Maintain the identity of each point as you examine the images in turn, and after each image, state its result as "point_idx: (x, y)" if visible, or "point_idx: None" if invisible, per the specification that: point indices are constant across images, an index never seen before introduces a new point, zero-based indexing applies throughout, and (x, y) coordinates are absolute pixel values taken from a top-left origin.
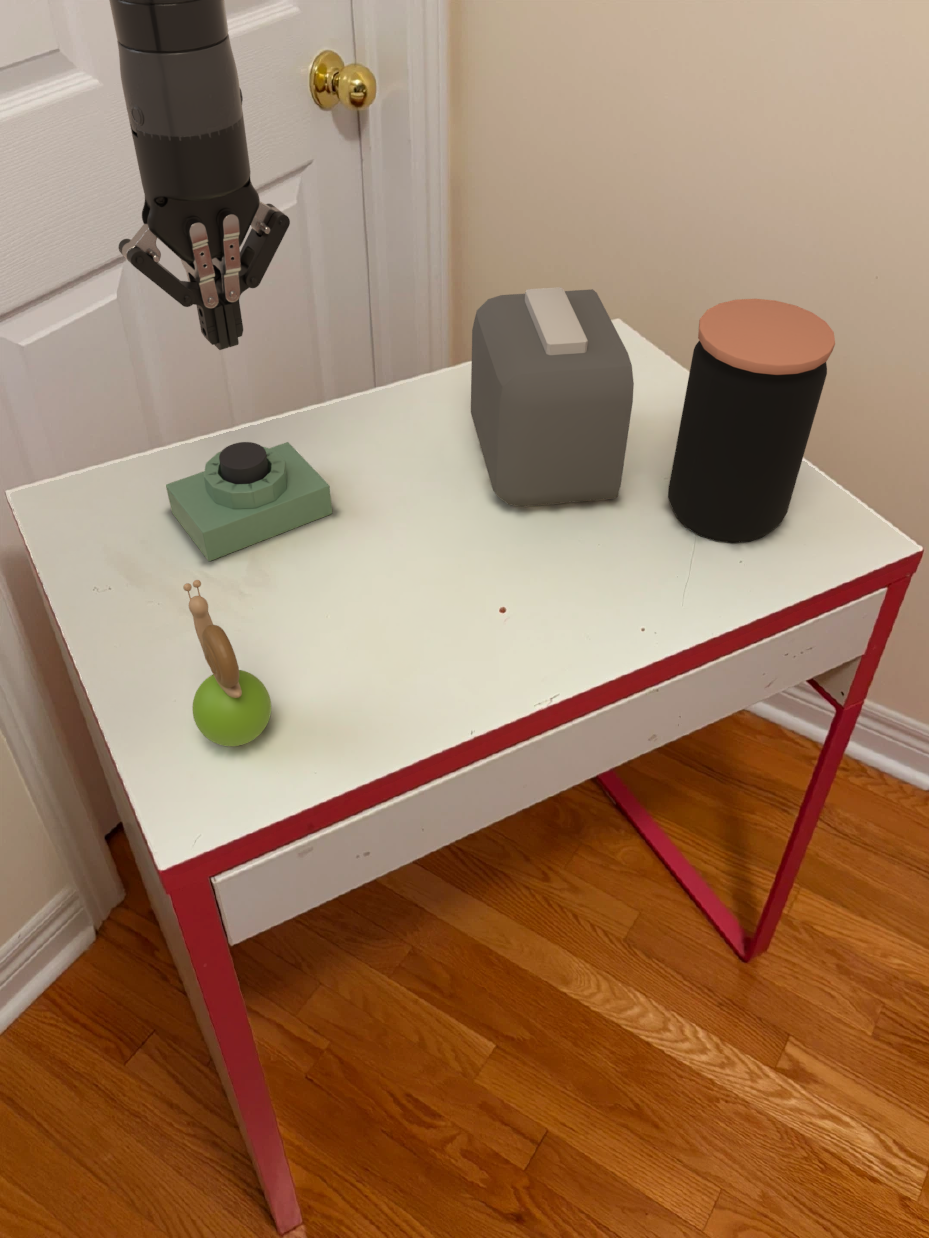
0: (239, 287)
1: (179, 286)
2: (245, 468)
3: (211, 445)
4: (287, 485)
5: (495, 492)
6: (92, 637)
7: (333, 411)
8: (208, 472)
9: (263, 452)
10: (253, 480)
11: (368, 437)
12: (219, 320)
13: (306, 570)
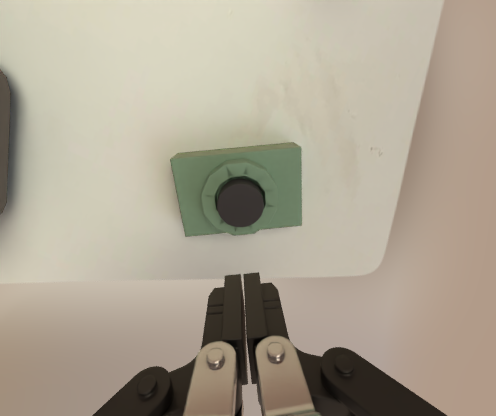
0: (193, 375)
1: (381, 410)
2: (245, 184)
3: None
4: (207, 177)
5: (7, 85)
6: (408, 97)
7: (133, 278)
8: (272, 209)
9: (220, 201)
10: (239, 179)
11: (115, 236)
12: (257, 312)
13: (225, 89)
